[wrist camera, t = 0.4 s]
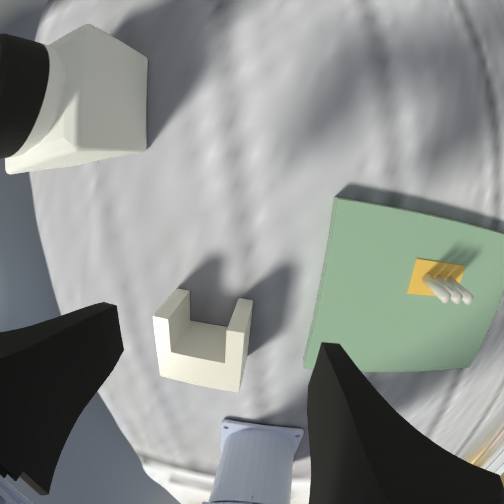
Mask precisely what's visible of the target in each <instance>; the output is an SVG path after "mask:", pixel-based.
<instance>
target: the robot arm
mask: <svg viewBox="0 0 504 504" xmlns="http://www.w3.org/2000/svg"><path fill="white" fill-rule="evenodd" d="M123 351H124V348H123V342H122V337H121V331H120V325H119V319H118V312H117V306H116V305H113V304H109V303H105V302H102V303H98V304H94V305H91V306H88V307H85V308H82V309H79V310H76V311H73V312H71V313H68V314H65V315H62V316H59V317H57V318H54V319H51V320H47V321H44V322H41V323H38V324H35V325H32V326H28V327H25V328H21V329H16V330H11V331H7V332H0V504H6V502H8V503H9V504H33V503H32V502H31V501H30V500H28V499H27V498H26V497H25V496H23V495H22V494H21V493H20V492H19V491H17V490H16V489H15V488H14V487H13V486H12V485H11V484H9V483H8V482H7V481H6V480H5V479H4V478H5V477H6V475H7V474H8V475H9V476H10V477H11V478H12V479H13V480H15V481H17V479H18V478H20V479H21V480H22V481H23V482H24V483H26V484H27V485H28V486H29V487H31V488H32V489H33V490H35V491H36V492H37V493H38V494H40V495H48V494H49V490H50V486H51V482H52V478H53V474H54V471H55V468H56V465H57V462H58V459H59V456H60V454H61V451H62V449H63V447H64V445H65V442H66V440H67V438H68V436H69V434H70V432H71V430H72V428H73V426H74V424H75V422H76V420H77V419H78V417H79V415H80V414H81V412H82V411H83V409H84V408H85V407H86V405H87V404H88V403H89V401H90V400H91V398H92V397H93V396H94V395H95V393H96V392H97V391H98V389H99V388H100V387H101V385H102V384H103V383H104V381H105V380H106V379H107V377H108V376H109V375H110V373H111V372H112V371H113V369H114V367H115V365H116V364H117V362H118V360H119V358H120V356H121V354H122V352H123ZM307 416H308V429H309V442H310V456H311V485H310V498H309V504H504V487H503V484H502V481H501V478H500V476H499V475H498V474H495V473H493V472H490V471H487V470H485V469H482V468H480V467H477V466H475V465H472V464H470V463H468V462H466V461H464V460H462V459H460V458H459V457H457V456H455V455H453V454H451V453H450V452H448V451H446V450H445V449H443V448H441V447H440V446H438V445H437V444H436V443H434V442H433V441H431V440H430V439H428V438H427V437H426V436H424V435H423V434H422V433H420V432H419V431H418V430H417V429H415V428H414V427H413V426H412V425H411V424H410V423H408V422H407V421H406V420H405V419H404V418H403V417H402V416H401V415H399V414H398V413H397V412H396V411H395V410H394V409H393V408H392V407H391V406H390V405H389V404H388V402H387V401H386V400H385V399H384V398H383V397H382V396H381V395H380V394H379V393H378V392H377V390H376V389H375V388H374V387H373V386H372V385H371V383H370V382H369V381H368V380H367V379H366V377H365V376H364V375H363V374H362V372H361V371H360V370H359V368H358V367H357V366H356V365H355V363H354V362H353V361H352V359H351V358H350V357H349V355H348V354H347V353H346V351H345V350H344V349H343V347H342V346H341V345H340V344H339V343H328V342H321V345H320V349H319V353H318V356H317V359H316V363H315V366H314V369H313V373H312V376H311V379H310V382H309V385H308V402H307ZM303 434H304V430H303V429H300V428H288V427H277V426H268V425H260V424H252V423H245V422H239V421H233V420H227V419H225V420H222V423H221V457H220V461H219V465H218V469H217V473H216V476H215V480H214V484H213V488H212V491H211V495H210V499H209V502H203V503H202V504H290V498H291V483H292V466H293V457H294V455H295V453H296V450H297V448H298V446H299V444H300V441H301V439H302V437H303Z"/></svg>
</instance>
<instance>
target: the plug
mask: <svg viewBox="0 0 504 504" xmlns="http://www.w3.org/2000/svg"><path fill="white" fill-rule="evenodd" d="M252 307H253V300H248V299H241V298H239V299H238V301H237V304H236V307H235V309H234V312H233V315H232V317H231V320H230V323H229V325H228V327H225V326H219V325H213V324H207V323H202V322H196V321H191V320H190V291H189V290H183V289H176V290H175V291H174V292H173V293H172V294H171V296H170V297H169V298H168V299H167V300H166V301H165V303H164V304H163V305H162V306H161V307H160V308H159V310H158V311H157V312H156V313H155V314H154V315H153V322H154V331H155V340H156V348H157V355H158V363H159V369H160V376H163V377H167V378H171V379H175V380H179V381H183V382H187V383H191V384H196V385H200V386H205V387H210V388H215V389H220V390H226V391H231V392H237V393H239V390H240V386H241V382H242V377H243V373H244V369H245V364H246V360H247V355H248V346H249V336H250V327H251V317H252Z"/></svg>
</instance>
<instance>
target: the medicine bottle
mask: <svg viewBox="0 0 504 504" xmlns="http://www.w3.org/2000/svg"><path fill="white" fill-rule="evenodd" d="M147 70H148V59H147V57H145V56H144V55H142V54H141V53H139V52H137V51H136V50H134V49H133V48H131V47H129V46H128V45H126V44H124V43H123V42H121V41H119V40H118V39H116V38H114V37H113V36H111V35H109V34H107V33H106V32H104V31H102V30H100V29H98V28H97V27H95V26H93V25H91V24H86V25H84V26H82V27H80V28H78V29H76V30H74V31H72V32H70V33H69V34H67V35H65V36H63V37H62V38H60V39H58V40H57V41H55V42H53V43H52V44H50V45H49V46H48V45H45V44H41V43H38V42H35V41H31V40H27V39H24V38H20V37H16V36H12V35H8V34H0V159H1V158H5V167H6V172H7V173H8V174H16V173H22V172H29V171H36V170H43V169H52V168H60V167H70V166H77V165H81V164H85V163H90V162H94V161H99V160H104V159H109V158H114V157H119V156H124V155H130V154H136V153H142V152H144V151H145V150H146V148H147V136H146V97H147Z"/></svg>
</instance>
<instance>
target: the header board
mask: <svg viewBox="0 0 504 504" xmlns="http://www.w3.org/2000/svg"><path fill="white" fill-rule="evenodd" d="M503 292H504V233H501V232H498V231H494V230H491V229H487V228H484V227H480V226H476V225H472V224H469V223H465V222H461V221H457V220H453V219H448V218H444V217H440V216H435V215H431V214H427V213H422V212H417V211H412V210H408V209H403V208H398V207H392V206H387V205H382V204H376V203H371V202H365V201H359V200H353V199H347V198H340V197H334V204H333V211H332V218H331V225H330V231H329V237H328V244H327V249H326V255H325V261H324V266H323V272H322V277H321V282H320V287H319V292H318V297H317V302H316V307H315V311H314V316H313V320H312V325H311V329H310V333H309V338H308V342H307V346H306V350H305V354H304V358H303V360H304V368H305V369H314V366H315V363H316V359H317V356H318V353H319V349H320V345H321V342H328V343H339V344H340V345H341V346H342V347H343V349H344V350H345V351H346V353H347V354H348V355H349V357H350V358H351V359H352V361H353V362H354V363H355V365H356V366H357V367H358V368H359V370H360V371H361V372H413V371H433V370H447V369H458V368H467V367H470V366H471V364H472V362H473V360H474V358H475V356H476V354H477V353H478V351H479V349H480V347H481V345H482V342H483V340H484V338H485V336H486V334H487V332H488V330H489V327H490V325H491V323H492V320H493V318H494V316H495V313H496V311H497V308H498V306H499V303H500V300H501V298H502V295H503Z"/></svg>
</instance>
